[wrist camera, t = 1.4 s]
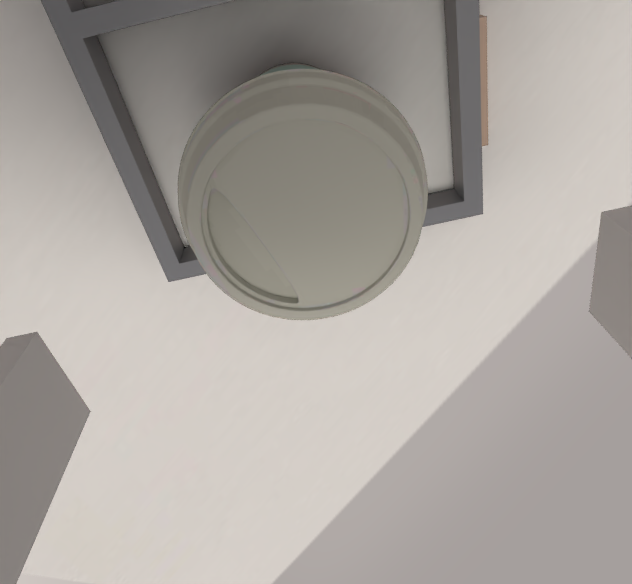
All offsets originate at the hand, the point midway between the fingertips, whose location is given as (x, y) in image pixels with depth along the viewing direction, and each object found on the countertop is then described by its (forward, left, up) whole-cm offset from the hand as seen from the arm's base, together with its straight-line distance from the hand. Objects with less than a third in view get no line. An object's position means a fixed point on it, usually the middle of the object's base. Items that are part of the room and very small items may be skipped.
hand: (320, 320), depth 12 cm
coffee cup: (0, 0, -17) cm, 17 cm away
